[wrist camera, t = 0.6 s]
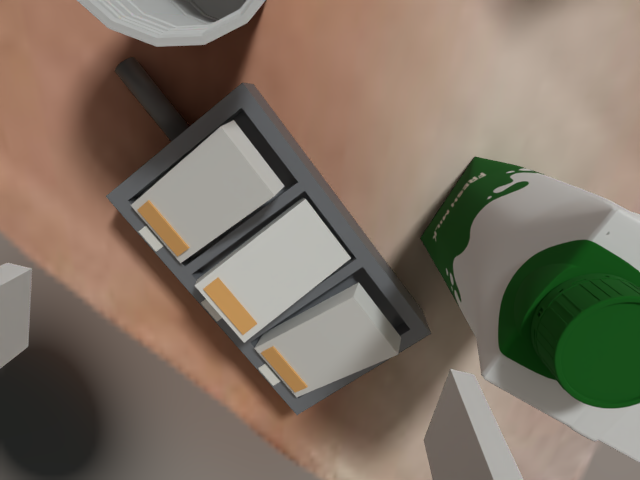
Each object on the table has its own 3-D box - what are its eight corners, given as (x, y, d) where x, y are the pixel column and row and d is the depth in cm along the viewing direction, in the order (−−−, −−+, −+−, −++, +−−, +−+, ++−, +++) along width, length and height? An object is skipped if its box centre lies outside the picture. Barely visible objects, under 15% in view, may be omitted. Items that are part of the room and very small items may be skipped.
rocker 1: (146, 195, 32) (129, 206, 30) (233, 120, 28) (219, 127, 26) (193, 251, 33) (179, 264, 31) (284, 186, 29) (273, 196, 27)
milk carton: (471, 138, 32) (658, 196, 13) (577, 202, 33) (900, 346, 14) (402, 242, 34) (474, 422, 15) (503, 299, 35) (689, 536, 16)
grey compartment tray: (71, 119, 33) (40, 122, 30) (196, 7, 30) (177, -5, 27) (301, 387, 38) (296, 415, 35) (423, 311, 36) (431, 334, 32)
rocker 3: (263, 333, 35) (253, 349, 33) (358, 282, 31) (353, 298, 29) (303, 380, 36) (296, 398, 34) (401, 337, 32) (398, 356, 30)
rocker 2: (197, 279, 31) (194, 286, 29) (302, 197, 31) (305, 198, 30) (244, 333, 32) (244, 343, 30) (345, 253, 32) (351, 258, 31)
